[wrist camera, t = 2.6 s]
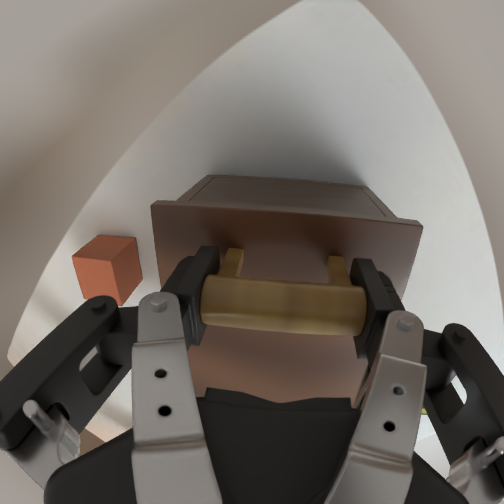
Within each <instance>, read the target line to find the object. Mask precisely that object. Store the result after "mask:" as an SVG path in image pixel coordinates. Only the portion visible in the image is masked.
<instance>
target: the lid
mask: <svg viewBox="0 0 504 504" xmlns="http://www.w3.org/2000/svg"><path fill="white" fill-rule="evenodd" d="M150 207H151V216H152V225H153V234H154V242H155V250H156V257H157V264H158V270H159V277H160V283H161V289H162V287H163V286H164V284H165V283H166V281H167V280H168V278H169V277H170V275H171V274H172V272H173V271H174V269H175V268H176V266H177V265H178V263H179V262H180V261H181V260H182V259H184V258H186V257H187V256H195V254H196V253H197V251H198V250H199V248H200V246H201V245H203V246H216V247H219V249H220V270H219V272H218V275H215V274H209V275H207V276H206V278H205V280H204V282H203V286H202V290H201V296H200V317H201V321H202V323H204V324H207V327H206V330H205V333H204V335H203V338H202V341H201V344H200V346H194V345H190V347H189V350H188V352H187V353H188V358H189V364H190V369H191V374H192V379H193V384H194V389H195V394H196V397H204V395H205V392H206V388H207V387H211V388H217V389H224V390H232V391H240V392H244V393H247V394H250V395H253V396H256V397H260V398H263V399H266V400H269V401H273V402H276V403H285V402H291V401H298V400H304V399H309V398H315V397H333V398H342V397H350V398H351V406H352V405H353V403H354V400H355V397H356V395H357V392H358V389H359V387H360V384H361V381H362V378H363V375H364V372H365V370H366V367H367V365H368V360H367V359H357V354H356V349H355V344H354V339H353V336H358V335H360V334H361V332H362V331H363V328H364V325H365V321H366V315H367V297H366V292H365V289H364V288H363V287H362V286H354V285H352V283H351V280H350V277H349V274H350V270H351V265H352V261H353V259H354V258H366V259H372V261H373V263H374V265H375V267H376V269H377V271H382V272H383V273H384V274H386V275H387V276H388V277H389V278H390V280H391V282H392V284H393V287H394V288H395V290H396V293H397V294H398V296H399V298H400V300H402V297H403V294H404V291H405V288H406V285H407V282H408V279H409V276H410V273H411V270H412V266H413V263H414V260H415V256H416V253H417V249H418V246H419V242H420V238H421V234H422V230H423V226H422V225H421V224H420V223H419V222H418V221H417V220H410V219H403V218H395V217H387V216H378V215H370V214H361V213H352V212H342V211H332V210H321V209H310V208H298V207H286V206H272V205H257V204H241V203H222V202H199V201H168V200H157V201H155V202H154V203H153V204H151V206H150Z"/></svg>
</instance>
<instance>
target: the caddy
mask: <svg viewBox="0 0 504 504" xmlns="http://www.w3.org/2000/svg"><path fill="white" fill-rule="evenodd" d="M176 201H199V202H222V203H241V204H257V205H272V206H286V207H298V208H310V209H321V210H332V211H342V212H352V213H361V214H370V215H378V216H387V217H395V218H397V217H396V216H395V215H394V214H393V213H392V211H391V210H390V209H389V208H388V207H387V206H386V205H385V204H384V203H383V202H382V201H381V200H380V199H379V198H378V197H377V196H376V195H375V194H374V193H373V192H372V191H371V190H370V189H369V188H368V187H364V186H356V185H347V184H338V183H329V182H319V181H308V180H297V179H284V178H269V177H251V176H227V175H207V176H206V177H204V178H203V179H202V180H200V181H199V182H198V183H197V184H195V185H194V186H193V187H192V188H191V189H189V190H188V191H187V192H186V193H185V194H183V195H182V196H181V197H180V198H179V199H177V200H176Z"/></svg>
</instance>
